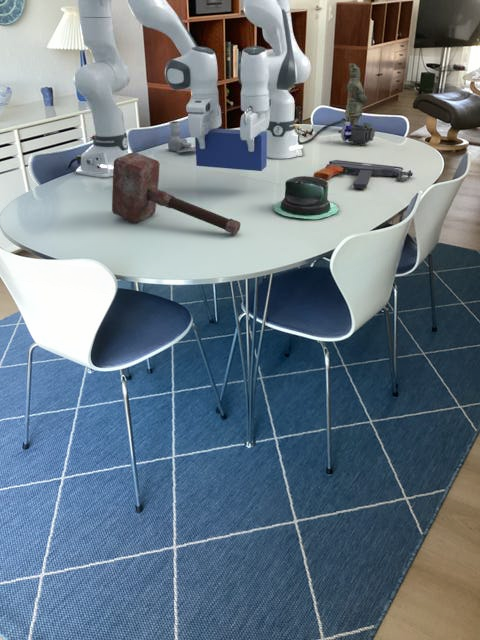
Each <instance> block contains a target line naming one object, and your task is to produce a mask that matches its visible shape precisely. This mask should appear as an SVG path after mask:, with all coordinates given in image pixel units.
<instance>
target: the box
mask: <svg viewBox="0 0 480 640" xmlns="http://www.w3.org/2000/svg"><path fill="white" fill-rule="evenodd" d="M204 139H205V143H206V148H205V149H201V148H200V143H199V141H198V138H194V143H195V144H194V145H195V146H194V147H196V149H195V165H196V166H195V167H203V168H217V169H228V170H229V169H230V170H239V171H241V170H242V171H254V172H262V171H263V170H264V169H265V168H267V162H268V161H267V158H268V157H267V132H266V130H264V131H263V132H261V133H260V134H258V135H257V136H256V137H255V138H254V145H255V150H254V151H253V152H249V151H248V144H247V140H241V137H240V129H233V128H215V129H213V130H211V131H209V132H208V134H206V135H205V138H204Z"/></svg>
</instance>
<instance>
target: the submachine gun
mask: <svg viewBox="0 0 480 640" xmlns="http://www.w3.org/2000/svg"><path fill="white" fill-rule="evenodd" d="M403 170H404V167H402V166H397V165H396V166H394V165H385V164H376V163H369V162H368V163H367V162H361V161H360V162H359V161H349V160H343V159H342V160H341V159H333V160H329V161H328V163H327V164H326V166H325V168H323V169H320V170H318V171H315V172H314V173H313V177H317V178H322V179H323V180H325V181H327V180H330V178H332V177H333V176H336V175H341V174H342V175H349V176H350V175H351V176H352V175H357V176H356V178H355V179H354V180H355V181H354V182H353V189H361V190H366V189H367V186H368V184H369V182H370V180H371V177H372V176H375V177H381V176H382V177H383V176H385V177H397V178H396V180H397V181H399V182H406V181H408V180H409V179H410V178H411V177H413V175H414V173H413V172H412V170H411V169H409V170H408V171H403ZM402 176H406V178H402Z"/></svg>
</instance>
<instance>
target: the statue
mask: <svg viewBox="0 0 480 640" xmlns="http://www.w3.org/2000/svg"><path fill="white" fill-rule="evenodd" d="M348 70H349V73H350V75H349V76H350V78H349V81H348V82H347V85H346V90H347V98H346V99H347V100H346V101H347V102H346V106H345V112H344V115H345V120H346V121H345V123H346V122H350V124H352V127H354V125H355V124H357V125H359V124H358V123H359V121H360V118H361V117H362V116H363V108H364V104H365V103H367V102H368V96H367V95H366V94H365V91H364V86H363V84H362V82H361V68H360V67H359V66H358V65H357V64H356V63H351V62H350V63H348Z"/></svg>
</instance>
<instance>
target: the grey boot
mask: <svg viewBox="0 0 480 640" xmlns="http://www.w3.org/2000/svg"><path fill="white" fill-rule="evenodd" d="M180 128H181V126H180V121H178V120H173V121H172V120H171V121H169V129H170V137H167V146H168V148H167V149H168V151H171V152H174V153H175V152H176V154H181V153H187V152H190V151H194V150H196V147H195V146H194V147H193V146H192V143H190V142H188V139H186V138H182V137H180V136H181V135H180Z"/></svg>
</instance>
